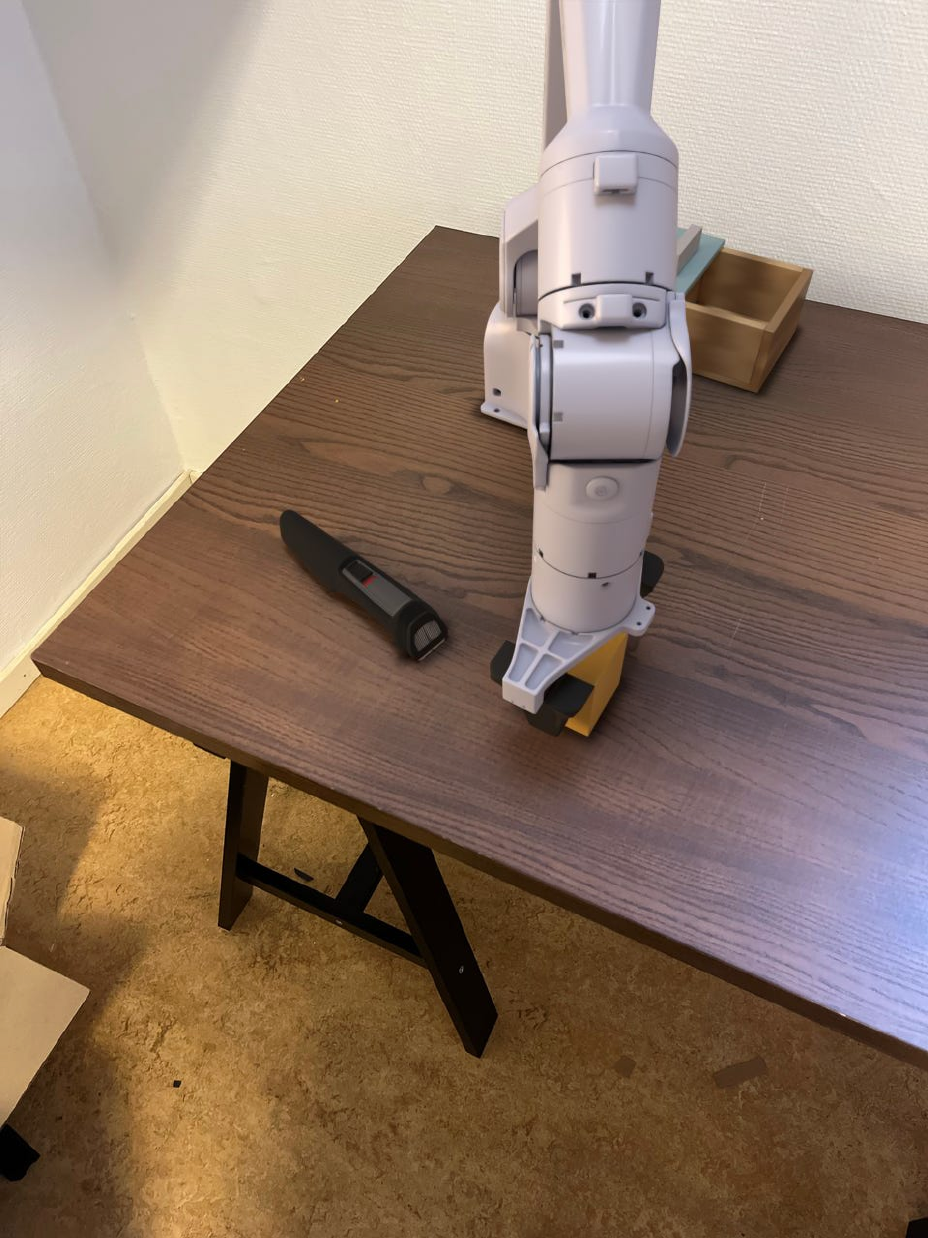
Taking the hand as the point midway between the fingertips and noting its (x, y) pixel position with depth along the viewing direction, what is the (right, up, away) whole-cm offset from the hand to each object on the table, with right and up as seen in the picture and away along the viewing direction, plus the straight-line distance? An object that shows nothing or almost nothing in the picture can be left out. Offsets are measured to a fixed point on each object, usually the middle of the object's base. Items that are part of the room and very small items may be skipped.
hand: (573, 680), depth 54 cm
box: (+16, +29, +23) cm, 40 cm away
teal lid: (+9, +35, +20) cm, 42 cm away
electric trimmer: (-14, +6, +7) cm, 17 cm away
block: (0, -1, +1) cm, 2 cm away
